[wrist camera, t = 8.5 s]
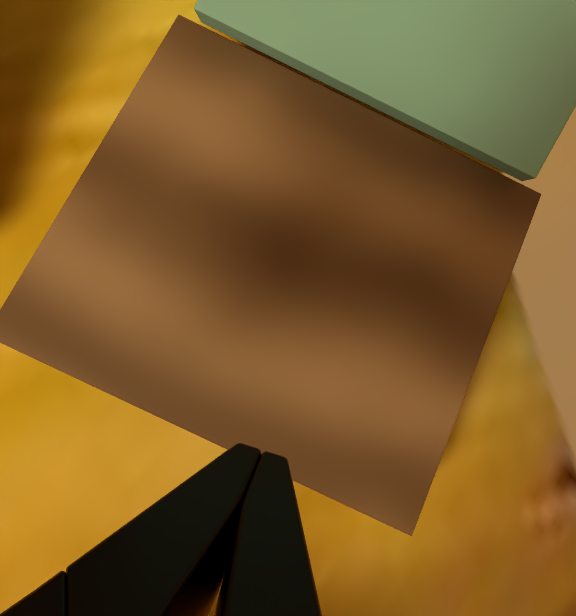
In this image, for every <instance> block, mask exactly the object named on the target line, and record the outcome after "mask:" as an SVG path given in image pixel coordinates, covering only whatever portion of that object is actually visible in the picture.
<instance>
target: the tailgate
mask: <svg viewBox="0 0 576 616" xmlns="http://www.w3.org/2000/svg"><path fill="white" fill-rule="evenodd" d="M194 9H195V11H196V13H197V15H198V17H199V19H200V20H201V22H202V23H204V24H206V25H208V26H210V27H212V28H214V29H216V30H218V31H220V32H222V33H224V34H226V35H228V36H230V37H232V38H234V39H236V40H238V41H240V42H242V43H244V44H246V45H248V46H250V47H252V48H254V49H256V50H259V51H261V52H263V53H265V54H267V55H269V56H271V57H273V58H275V59H277V60H279V61H281V62H283V63H285V64H287V65H289V66H291V67H293V68H295V69H297V70H299V71H301V72H303V73H305V74H307V75H309V76H311V77H313V78H315V79H317V80H319V81H321V82H323V83H325V84H327V85H329V86H331V87H333V88H335V89H337V90H339V91H341V92H343V93H345V94H347V95H349V96H351V97H353V98H355V99H357V100H359V101H361V102H363V103H365V104H367V105H370V106H372V107H374V108H376V109H378V110H380V111H382V112H384V113H386V114H388V115H390V116H392V117H394V118H396V119H398V120H400V121H402V122H404V123H406V124H408V125H410V126H412V127H414V128H416V129H418V130H420V131H422V132H424V133H426V134H428V135H430V136H432V137H434V138H436V139H438V140H440V141H442V142H444V143H446V144H448V145H450V146H452V147H454V148H456V149H458V150H460V151H462V152H464V153H466V154H468V155H470V156H472V157H474V158H476V159H479V160H481V161H483V162H485V163H487V164H489V165H491V166H493V167H495V168H497V169H499V170H501V171H503V172H505V173H507V174H509V175H511V176H513V177H515V178H517V179H519V180H521V181H525V180H529V179H534V178H536V176H537V174H538V173H539V171H540V169H541V167H542V166H543V164H544V162H545V160H546V158H547V156H548V155H549V153H550V151H551V149H552V148H553V146H554V144H555V142H556V140H557V139H558V137H559V135H560V133H561V131H562V129H563V128H564V126H565V124H566V122H567V121H568V119H569V117H570V115H571V113H572V111H573V110H574V108H575V106H576V0H197V3H196V5H195V8H194Z"/></svg>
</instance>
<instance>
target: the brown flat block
mask: <svg viewBox="0 0 576 616" xmlns="http://www.w3.org/2000/svg"><path fill="white" fill-rule="evenodd" d="M540 196H541V194H540V193H538V192H536V191H534V190H532V189H530V188H528V187H526V186H524V185H522V184H520V183H518V182H516V181H513V180H512V179H510V178H508V177H506V176H504V175H502V174H500V173H498V172H496V171H494V170H492V169H490V168H487V167H485V166H483V165H481V164H479V163H477V162H475V161H473V160H471V159H469V158H467V157H465V156H463V155H461V154H459V153H457V152H455V151H453V150H451V149H449V148H447V147H445V146H443V145H441V144H439V143H437V142H435V141H433V140H431V139H429V138H427V137H425V136H423V135H421V134H419V133H417V132H415V131H413V130H411V129H409V128H407V127H405V126H403V125H401V124H399V123H397V122H395V121H393V120H391V119H389V118H387V117H385V116H382V115H380V114H378V113H376V112H374V111H372V110H370V109H368V108H366V107H364V106H362V105H360V104H358V103H356V102H354V101H352V100H350V99H348V98H346V97H344V96H342V95H340V94H338V93H336V92H334V91H332V90H330V89H328V88H326V87H324V86H322V85H320V84H318V83H316V82H314V81H312V80H310V79H308V78H306V77H304V76H302V75H300V74H298V73H296V72H294V71H292V70H290V69H288V68H286V67H284V66H282V65H280V64H277V63H275V62H273V61H271V60H269V59H267V58H265V57H263V56H261V55H259V54H257V53H255V52H253V51H251V50H249V49H247V48H245V47H243V46H241V45H239V44H237V43H235V42H233V41H231V40H229V39H227V38H225V37H223V36H221V35H219V34H217V33H215V32H213V31H211V30H209V29H207V28H205V27H203V26H201V25H199V24H197V23H195V22H193V21H191V20H189V19H187V18H185V17H183V16H181V15H178V17H177V18H176V20H175V22H174V23H173V25H172V26H171V28H170V30H169V31H168V33H167V35H166V36H165V38H164V40H163V41H162V43H161V45H160V46H159V48H158V50H157V51H156V53H155V55H154V56H153V58H152V60H151V61H150V63H149V65H148V66H147V68H146V70H145V71H144V73H143V74H142V76H141V78H140V79H139V81H138V83H137V84H136V86H135V88H134V89H133V91H132V93H131V94H130V96H129V98H128V99H127V101H126V103H125V104H124V106H123V108H122V109H121V111H120V113H119V114H118V116H117V118H116V119H115V121H114V122H113V124H112V126H111V127H110V129H109V131H108V132H107V134H106V136H105V137H104V139H103V141H102V142H101V144H100V146H99V147H98V149H97V151H96V152H95V154H94V156H93V157H92V159H91V161H90V162H89V164H88V166H87V167H86V169H85V171H84V172H83V174H82V175H81V177H80V179H79V180H78V182H77V184H76V185H75V187H74V189H73V190H72V192H71V194H70V195H69V197H68V199H67V200H66V202H65V204H64V205H63V207H62V209H61V210H60V212H59V214H58V215H57V217H56V219H55V220H54V222H53V223H52V225H51V227H50V228H49V230H48V232H47V233H46V235H45V237H44V238H43V240H42V242H41V243H40V245H39V247H38V248H37V250H36V252H35V253H34V255H33V257H32V258H31V260H30V262H29V263H28V265H27V267H26V268H25V270H24V271H23V273H22V275H21V276H20V278H19V280H18V281H17V283H16V285H15V286H14V288H13V290H12V291H11V293H10V295H9V296H8V298H7V300H6V301H5V303H4V305H3V306H2V308H1V310H0V343H2V344H4V345H7V346H9V347H11V348H13V349H15V350H17V351H19V352H21V353H24V354H26V355H28V356H30V357H32V358H34V359H36V360H38V361H41V362H43V363H45V364H47V365H49V366H51V367H53V368H55V369H58V370H60V371H62V372H64V373H66V374H68V375H70V376H72V377H75V378H77V379H79V380H81V381H83V382H85V383H87V384H89V385H92V386H94V387H96V388H98V389H100V390H102V391H104V392H106V393H109V394H111V395H113V396H115V397H117V398H119V399H121V400H123V401H126V402H128V403H130V404H132V405H134V406H136V407H138V408H140V409H143V410H145V411H147V412H149V413H151V414H153V415H155V416H157V417H159V418H162V419H164V420H166V421H168V422H170V423H172V424H174V425H176V426H179V427H181V428H183V429H185V430H187V431H189V432H191V433H193V434H196V435H198V436H200V437H202V438H204V439H206V440H208V441H210V442H213V443H215V444H217V445H219V446H221V447H223V448H225V449H227V450H228V449H230V448H231V447H233V446H234V445H235V444H237V443H243V444H246V445H249V446H253V447H256V448H259V449H260V450H261V454H262V453H263V452H264V451H268V452H271V453H275V454H278V455H281V456H284V457H286V458H287V460H288V463H289V467H290V472H291V477H292V480H293V481H295V482H298V483H300V484H302V485H304V486H306V487H308V488H310V489H312V490H315V491H317V492H319V493H321V494H323V495H325V496H327V497H329V498H332V499H334V500H336V501H338V502H340V503H342V504H344V505H346V506H349V507H351V508H353V509H355V510H357V511H359V512H361V513H363V514H366V515H368V516H370V517H372V518H374V519H376V520H378V521H380V522H383V523H385V524H387V525H389V526H391V527H393V528H395V529H397V530H400V531H402V532H404V533H406V534H408V535H410V536H412V534H413V531H414V529H415V526H416V523H417V521H418V518H419V515H420V513H421V510H422V507H423V505H424V502H425V500H426V497H427V494H428V492H429V489H430V486H431V484H432V481H433V478H434V476H435V473H436V471H437V468H438V465H439V463H440V460H441V457H442V455H443V452H444V449H445V447H446V444H447V442H448V439H449V436H450V434H451V431H452V428H453V426H454V423H455V420H456V418H457V415H458V413H459V410H460V407H461V405H462V402H463V399H464V397H465V394H466V391H467V389H468V386H469V384H470V381H471V378H472V376H473V373H474V370H475V368H476V365H477V362H478V360H479V357H480V355H481V352H482V349H483V347H484V344H485V341H486V339H487V336H488V333H489V331H490V328H491V326H492V323H493V320H494V318H495V315H496V312H497V310H498V307H499V304H500V302H501V299H502V297H503V294H504V291H505V289H506V286H507V283H508V281H509V278H510V275H511V273H512V270H513V268H514V265H515V262H516V259H517V257H518V254H519V252H520V249H521V246H522V244H523V241H524V238H525V236H526V233H527V231H528V228H529V225H530V223H531V220H532V217H533V215H534V212H535V209H536V207H537V204H538V201H539V199H540Z"/></svg>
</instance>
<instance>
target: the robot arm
mask: <svg viewBox="0 0 576 616" xmlns="http://www.w3.org/2000/svg"><path fill="white" fill-rule="evenodd" d="M222 580H223V581H222ZM221 583H222V585H221ZM220 586H221V589H220V593H219V597H218V601H217V605H216V610H215V614H214V616H322V614H321V609H320V605H319V600H318V596H317V591H316V586H315V582H314V577H313V573H312V568H311V564H310V559H309V554H308V550H307V545H306V541H305V536H304V531H303V527H302V522H301V518H300V513H299V509H298V504H297V499H296V495H295V490H294V486H293V481H292V477H291V472H290V467H289V463H288V460H287V458H286V457H284V456H281V455H278V454H275V453H271V452H268V451H264V452H263V453H262V454H261V450H260V449H259V448H256V447H253V446H249V445H246V444H243V443H237V444H235V445H234V446H233V447H231V448H230V449H228V450H227V451H226V452H224V453H223V454H222V455H220V456H219V457H217V458H216V459H215V460H213V461H212V462H211V463H209V464H208V465H206V466H205V467H204V468H202V469H201V470H200V471H198V472H197V473H195V474H194V475H193V476H191V477H190V478H189V479H187V480H186V481H184V482H183V483H182V484H180V485H179V486H178V487H176V488H175V489H173V490H172V491H171V492H169V493H168V494H167V495H165V496H164V497H162V498H161V499H160V500H158V501H157V502H156V503H154V504H153V505H151V506H150V507H149V508H147V509H146V510H145V511H143V512H142V513H140V514H139V515H138V516H136V517H135V518H134V519H132V520H131V521H129V522H128V523H127V524H125V525H124V526H123V527H121V528H120V529H118V530H117V531H116V532H114V533H113V534H112V535H110V536H109V537H107V538H106V539H105V540H103V541H102V542H101V543H99V544H98V545H96V546H95V547H94V548H92V549H91V550H90V551H88V552H87V553H85V554H84V555H83V556H81V557H80V558H79V559H77V560H76V561H74V562H73V563H72V564H70V565H69V566H68V567H67V568H66V573H65V572H64V571H60V572H59V573H57V574H56V575H55V576H53V577H52V578H51V579H49V580H48V581H47V582H45V583H44V584H42V585H41V586H40V587H38V588H37V589H36V590H34V591H33V592H31V593H30V594H28V595H27V596H26V597H24V598H23V599H21V600H20V601H18V602H17V603H15V604H14V605H13V606H11V607H10V608H8V609H7V610H5V611H4V612H2V613H1V614H0V616H208V614H209V611H210V609H211V607H212V605H213V603H214V600H215V598H216V596H217V593H218V591H219V588H220Z"/></svg>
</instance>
